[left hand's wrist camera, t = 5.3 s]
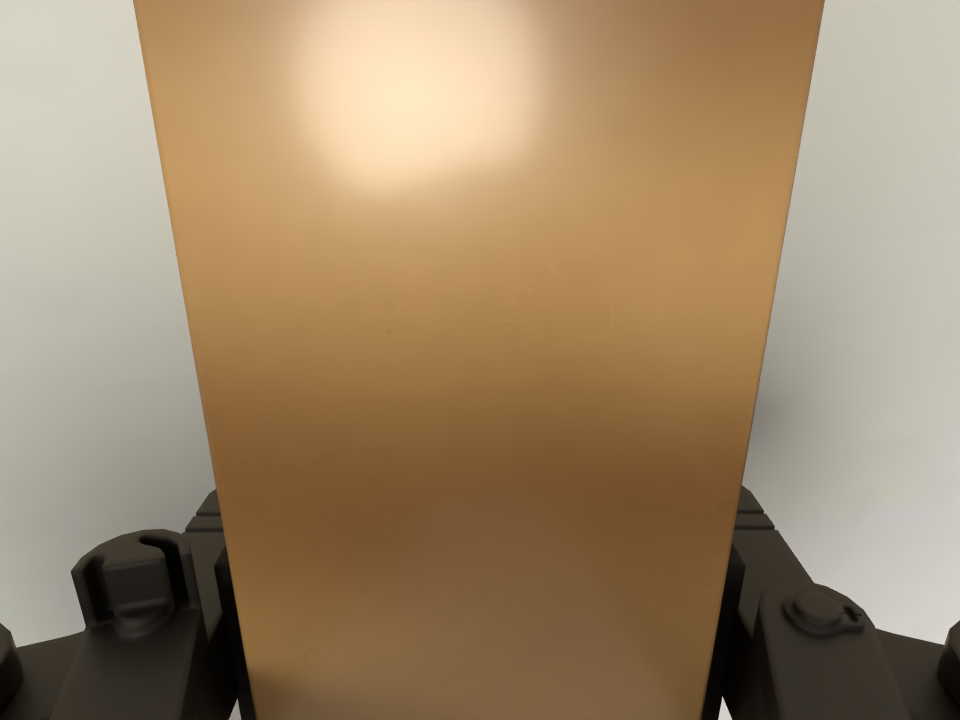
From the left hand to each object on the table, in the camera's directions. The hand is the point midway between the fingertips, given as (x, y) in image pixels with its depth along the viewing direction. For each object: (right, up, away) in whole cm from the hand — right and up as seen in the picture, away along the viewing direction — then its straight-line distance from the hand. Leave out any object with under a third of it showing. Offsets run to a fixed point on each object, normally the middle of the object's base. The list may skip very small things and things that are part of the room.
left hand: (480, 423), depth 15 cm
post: (0, +24, -9) cm, 26 cm away
